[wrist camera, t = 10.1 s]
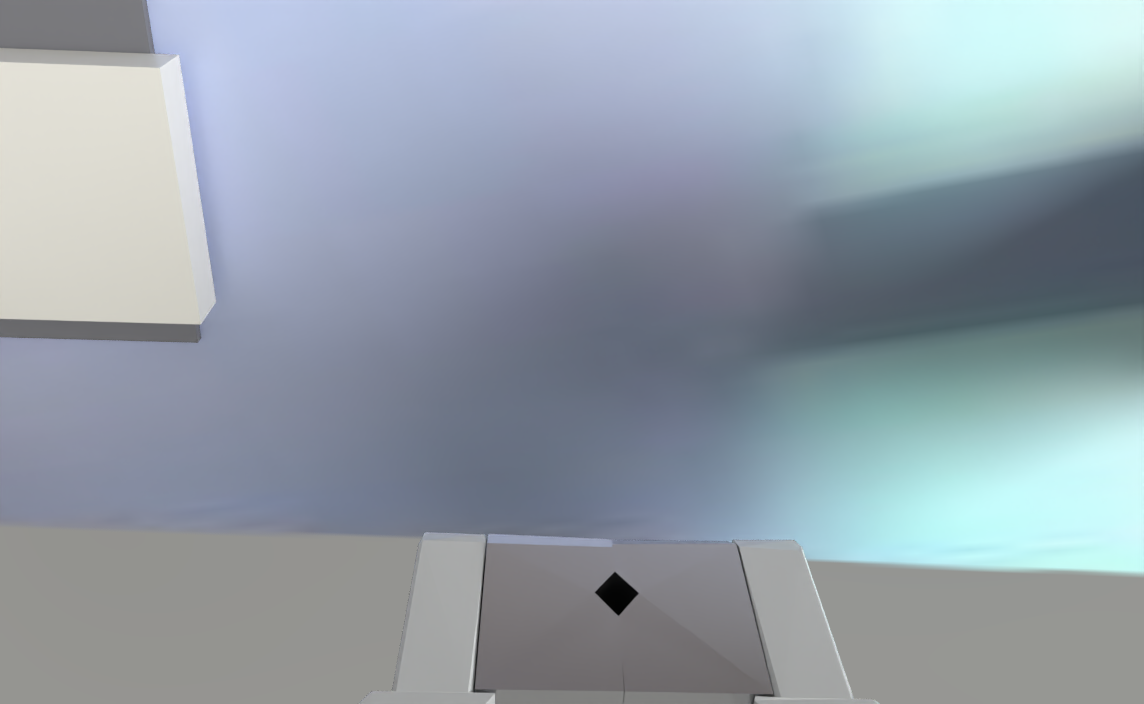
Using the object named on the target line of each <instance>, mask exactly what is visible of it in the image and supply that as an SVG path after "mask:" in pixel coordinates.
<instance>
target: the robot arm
mask: <svg viewBox="0 0 1144 704" xmlns="http://www.w3.org/2000/svg"><path fill="white" fill-rule="evenodd" d="M359 704H879V703H878V702H876V701H875V700H874V699H854V697H853V695H852V692H851V689H850V686H849V683H848V680H847V677H846V674H845V672H844V668H843V665H842V662H841V659H840V657H839V654H838V651H837V648H836V645H835V642H834V639H833V636H832V633H831V630H830V627H829V625H828V622H827V619H826V616H825V613H824V610H823V607H822V604H821V601H820V598H819V595H818V592H817V590H816V587H815V583H814V581H813V578H812V575H811V572H810V569H809V566H808V563H807V560H806V557H805V554H804V551H803V548H802V547H801V546H800V545H799V544H798V543H797V542H796V541H795V540H733V541H732V542H729V541H675V540H612V539H596V538H573V537H551V536H529V535H506V534H489V535H488V538H487V536H486V535H484V534H461V533H436V532H425V533H424V535H423V537H422V539H421V541H420V543H419V544H418V550H417V555H416V561H415V567H414V572H413V577H412V583H411V589H410V594H409V599H408V605H407V611H406V616H405V621H404V627H403V633H402V638H401V644H400V650H399V655H398V660H397V666H396V671H395V677H394V682H393V688H392V691H371V692H370V693H369V694H368V695H367V696H366V697H365V698H364V699H363V700H362V701H361V702H360V703H359Z"/></svg>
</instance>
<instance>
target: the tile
mask: <svg viewBox="0 0 1144 704" xmlns="http://www.w3.org/2000/svg"><path fill="white" fill-rule="evenodd" d="M215 303H216V297H215V291H214V284H213V278H212V271H211V264H210V258H209V251H208V244H207V238H206V231H205V224H204V218H203V211H202V205H201V198H200V191H199V185H198V178H197V171H196V165H195V158H194V152H193V145H192V138H191V132H190V125H189V118H188V112H187V105H186V98H185V92H184V85H183V79H182V72H181V65H180V59H179V55H174V54H148V53H121V52H95V51H68V50H42V49H15V48H0V319H25V320H60V321H95V322H130V323H165V324H200V325H201V324H202V322H203V321H204V319H205V318H206V316H207V315H208V313H209V312H210V310H211V309H212V307H213V306H214V304H215Z"/></svg>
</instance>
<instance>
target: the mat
mask: <svg viewBox="0 0 1144 704" xmlns="http://www.w3.org/2000/svg"><path fill="white" fill-rule="evenodd" d="M0 48H15V49H42V50H68V51H95V52H121V53H148V54H155V52H154V46H153V40H152V34H151V27H150V21H149V15H148V9H147V3H146V0H0ZM0 337H17V338H53V339H89V340H124V341H160V342H195V343H198V342H199V340H200V339H201V336H200V329H199V324H165V323H130V322H95V321H60V320H25V319H0Z"/></svg>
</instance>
